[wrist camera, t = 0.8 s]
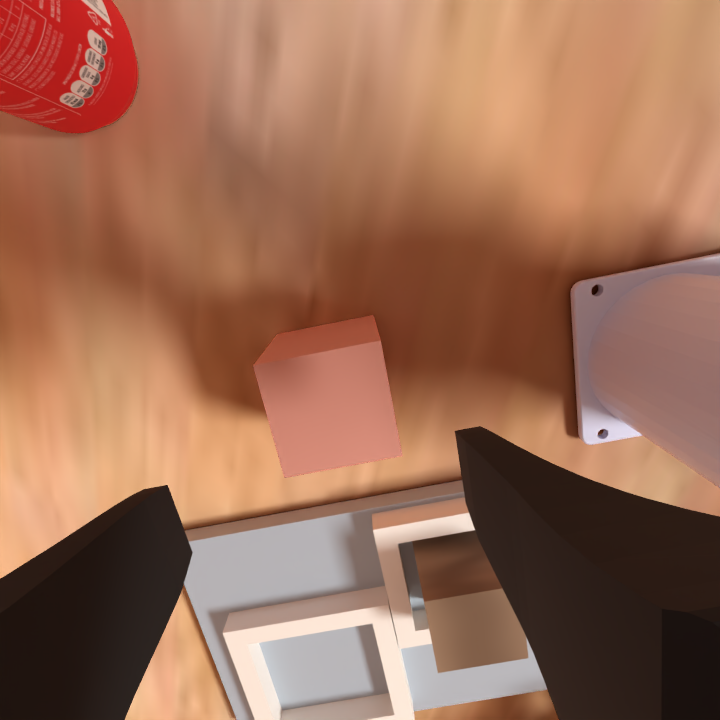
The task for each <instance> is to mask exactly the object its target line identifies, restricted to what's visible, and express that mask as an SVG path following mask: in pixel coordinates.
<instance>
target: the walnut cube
mask: <svg viewBox="0 0 720 720" xmlns="http://www.w3.org/2000/svg"><path fill="white" fill-rule="evenodd" d="M412 543H413V549H414V554H415V559H416V564H417V569H418V574H419V579H420V585H421V590H422V595H423V600H424V605H425V610H426V615H427V620H428V625H429V631H430V636H431V641H432V646H433V651H434V656H435V661H436V666H437V671H438V673H442V672H448V671H454V670H460V669H466V668H472V667H478V666H484V665H491V664H497V663H503V662H509V661H515V660H521V659H527V658H528V649H527V640H526V635H525V633H524V631H523V629H522V627H521V625H520V623H519V621H518V619H517V617H516V615H515V613H514V611H513V609H512V607H511V605H510V603H509V601H508V599H507V597H506V595H505V593H504V591H503V589H502V586H501V584H500V582H499V580H498V578H497V576H496V574H495V572H494V570H493V568H492V566H491V564H490V562H489V560H488V558H487V556H486V554H485V552H484V550H483V548H482V546H481V544H480V542H479V540H478V537H477V534H476V531H475V530H472V531H467V532H461V533H455V534H450V535H444V536H439V537H433V538H427V539H422V540H416V541H412Z"/></svg>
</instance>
